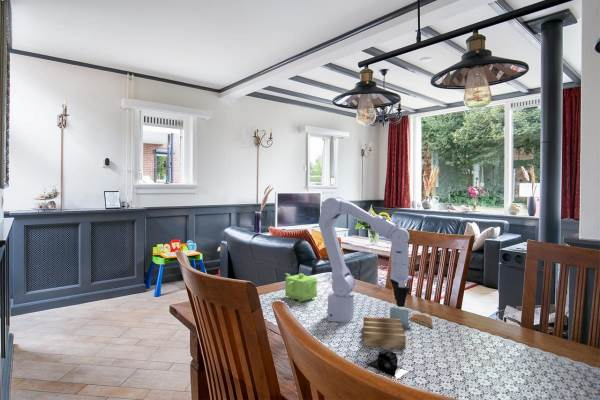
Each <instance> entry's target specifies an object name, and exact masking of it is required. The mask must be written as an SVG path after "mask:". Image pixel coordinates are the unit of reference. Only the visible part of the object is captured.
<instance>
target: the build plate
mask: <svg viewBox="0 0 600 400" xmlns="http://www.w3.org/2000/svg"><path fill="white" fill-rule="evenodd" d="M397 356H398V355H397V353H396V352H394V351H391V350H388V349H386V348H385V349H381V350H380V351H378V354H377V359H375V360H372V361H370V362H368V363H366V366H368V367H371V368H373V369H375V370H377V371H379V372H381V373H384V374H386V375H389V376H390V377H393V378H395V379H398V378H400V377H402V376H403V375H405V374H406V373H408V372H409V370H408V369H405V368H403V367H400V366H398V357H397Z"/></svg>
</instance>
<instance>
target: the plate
mask: <svg viewBox="0 0 600 400" xmlns="http://www.w3.org/2000/svg"><path fill="white" fill-rule="evenodd" d="M389 318H396V319H400V324H402V326H408V322H409V308H408V307H393V306H391V307H389Z"/></svg>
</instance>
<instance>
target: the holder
mask: <svg viewBox="0 0 600 400" xmlns="http://www.w3.org/2000/svg"><path fill="white" fill-rule="evenodd" d="M402 329H404V330H406V331H407V330H408V331H409V330H410V331H411V330H412V329H411V326H410V323H409V321H408V326H402Z"/></svg>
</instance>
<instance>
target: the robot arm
mask: <svg viewBox="0 0 600 400" xmlns="http://www.w3.org/2000/svg"><path fill="white" fill-rule="evenodd" d="M319 214H320V215H319V219H318V227H319V230H320V233H321V238H322V240H323V243H324V247H325V250H326V253H327V257H328V260H329V264H330V266H331V279H332V282H331V283H332V285H331V289H332V291H333V293H328V295H327V296H328V297H327V309H326V314H327V322H337V323H338V322H339V323H341V322H342V323H355V321H356V319H355V317H356V316H355V313H354V309H355V307H354V305H355V304H354V303H355V302H354V301H355V300H354V299H355V297H354V296H355V294H354V291H353V289H354V287H355V285H356V279H355V277H354V275H352V273H351V271H350V269H349V268H348V266H347V265H346V262H345V258H344V255H343V252H342V249H341V248H342V247H341V245H340V242H339V238H338V235H337V231H336V228H335V225H334V224H335V223H336V221H337V220H338V218H339V217H340V216H341V215H350V216H353V217H355V218H357V219H358V220H360V221H362V222H364V223H366V224H368V225H369V226H370V229H371V231H372V232H374V233H377V234H378V235H380V236H382V237H383V238H384V239H386V240H390V243H391V250H390V257H391V258H390V277H389V278H390V279H389V281H390V282H391V286H392V290H393V295H394V296H393V297H394V299H395V302H396V306H397V308H405V304H406V299H407V297H408V294H409V292H410V290H411V287H410V285H409V286H407V285H406V283H407V282H408V281H409V280H413V276H411V275H409V264H410V263H409V261H410V259H409V256H410V255H409V252H410V251H409V240H410V233H409V231H408V230H407V229H406V228H405V227H404V226H400V224H398V223H394V222H392V221H390V220H389V219H388V217H387V216H386V215H383V216H381V215H378V216H374V215H372V214H371V213H369V212H368V211H366V210H364V209H363V208H361V207H360V206H358V205H356V204H354V203H353V202H351V201H349V200H347V199H344V198H343V197H339V196H338V197H327V198H326V199H325V200H324V201H323V203H322V205H320V213H319Z"/></svg>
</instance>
